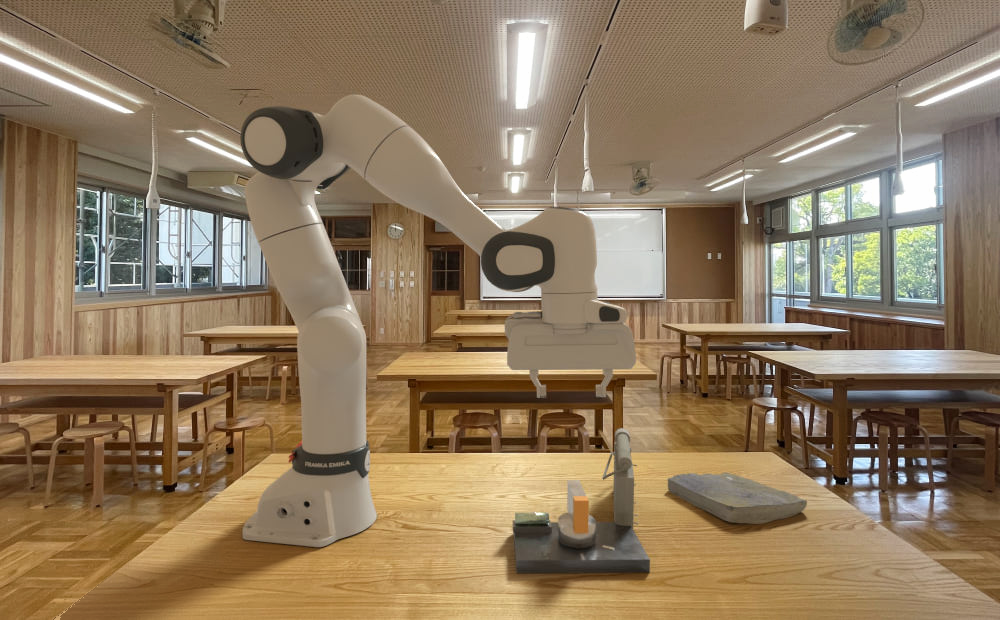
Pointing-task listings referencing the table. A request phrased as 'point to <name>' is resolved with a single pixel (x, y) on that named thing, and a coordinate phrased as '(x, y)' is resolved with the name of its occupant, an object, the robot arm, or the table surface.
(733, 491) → the grey stone slab
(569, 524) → the knob
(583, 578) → the table surface
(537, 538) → the stand
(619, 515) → the geiger counter
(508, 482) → the table surface
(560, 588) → the table surface
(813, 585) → the table surface
